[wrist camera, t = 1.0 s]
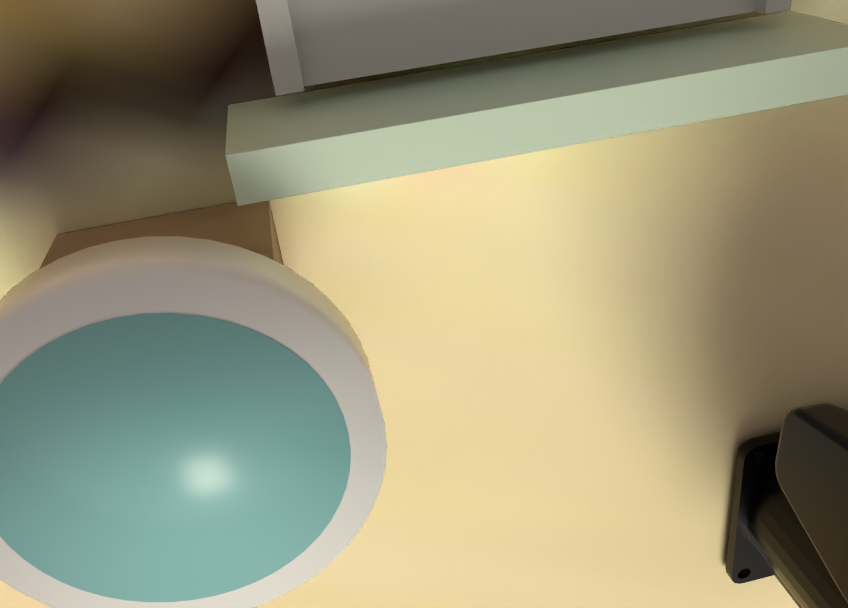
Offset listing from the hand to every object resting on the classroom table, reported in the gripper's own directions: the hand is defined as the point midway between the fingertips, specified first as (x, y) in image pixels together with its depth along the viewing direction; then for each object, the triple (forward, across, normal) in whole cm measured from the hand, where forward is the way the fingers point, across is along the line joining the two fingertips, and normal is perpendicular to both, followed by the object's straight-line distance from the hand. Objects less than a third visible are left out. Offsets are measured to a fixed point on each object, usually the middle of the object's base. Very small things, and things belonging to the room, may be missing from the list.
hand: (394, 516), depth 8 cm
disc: (+7, +4, +3) cm, 9 cm away
